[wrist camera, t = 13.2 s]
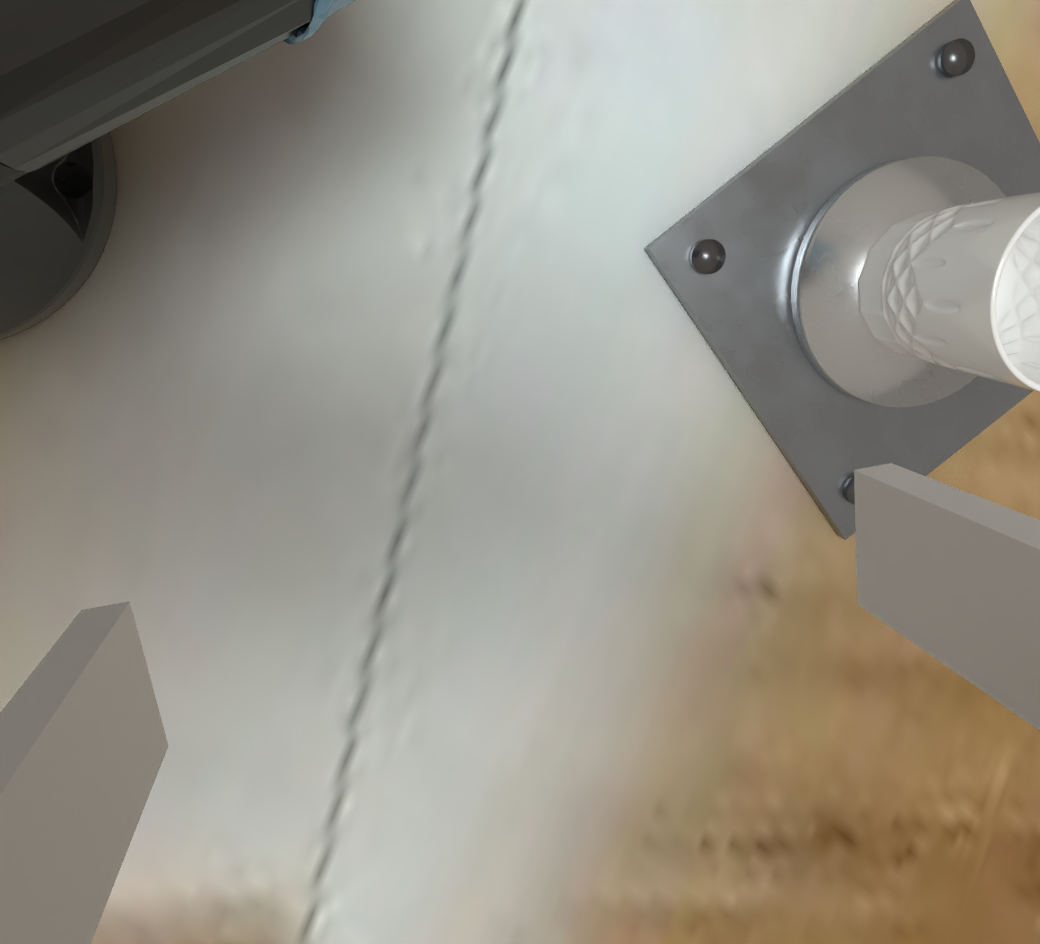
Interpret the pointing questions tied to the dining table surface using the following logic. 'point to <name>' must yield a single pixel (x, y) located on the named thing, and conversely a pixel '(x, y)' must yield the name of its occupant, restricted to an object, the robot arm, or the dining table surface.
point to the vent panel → (854, 259)
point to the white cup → (961, 289)
